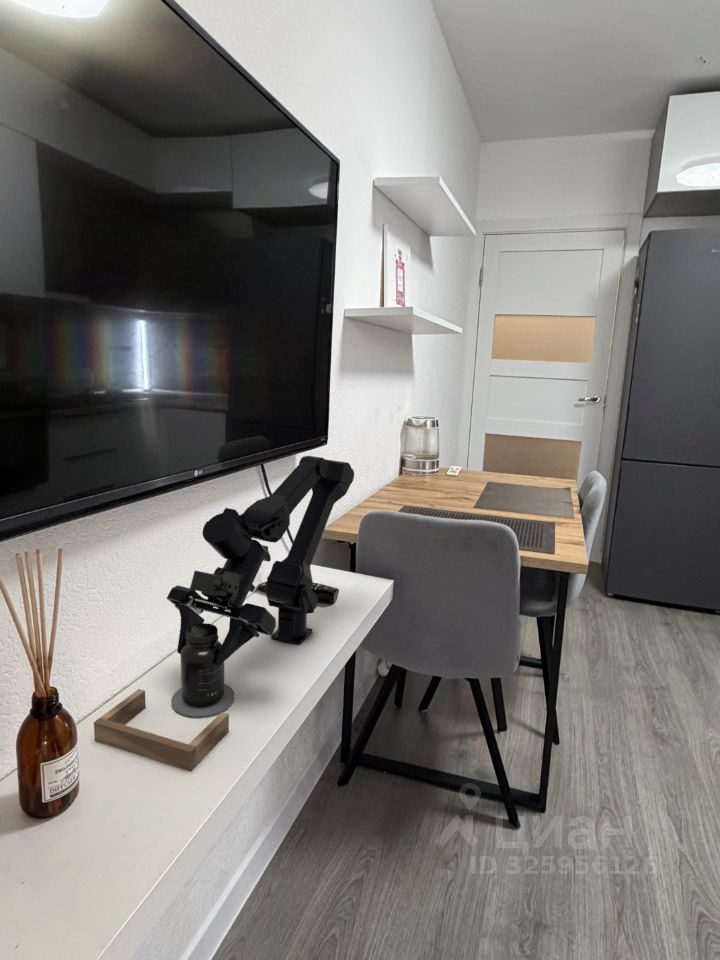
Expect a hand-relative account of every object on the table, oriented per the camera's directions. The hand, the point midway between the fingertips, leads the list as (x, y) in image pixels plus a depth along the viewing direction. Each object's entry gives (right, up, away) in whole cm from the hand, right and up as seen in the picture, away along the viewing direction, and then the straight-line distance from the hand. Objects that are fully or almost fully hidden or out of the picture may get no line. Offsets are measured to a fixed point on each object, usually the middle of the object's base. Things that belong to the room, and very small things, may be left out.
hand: (197, 659), depth 95 cm
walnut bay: (-3, -9, -7) cm, 12 cm away
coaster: (0, -7, +3) cm, 8 cm away
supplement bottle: (0, -7, +3) cm, 8 cm away
